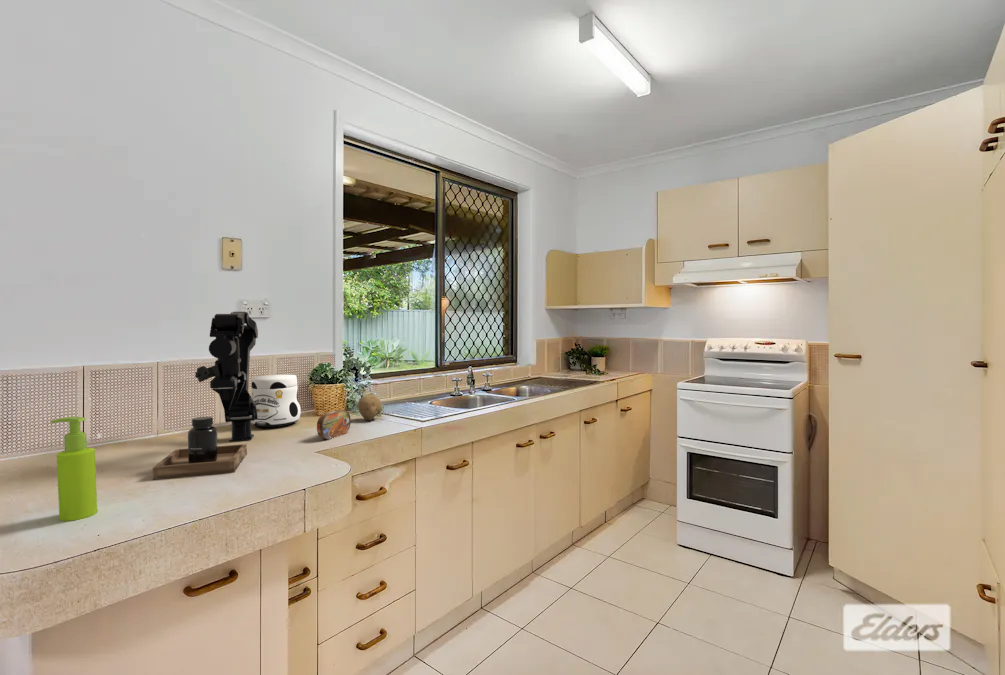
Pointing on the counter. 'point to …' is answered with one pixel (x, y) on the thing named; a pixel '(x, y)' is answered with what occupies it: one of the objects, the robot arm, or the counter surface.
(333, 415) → the tin
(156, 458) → the counter surface
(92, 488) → the soap dispenser
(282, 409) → the milk container
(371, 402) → the brown potato
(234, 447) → the walnut tray
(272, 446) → the counter surface
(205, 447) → the supplement bottle
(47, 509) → the counter surface
